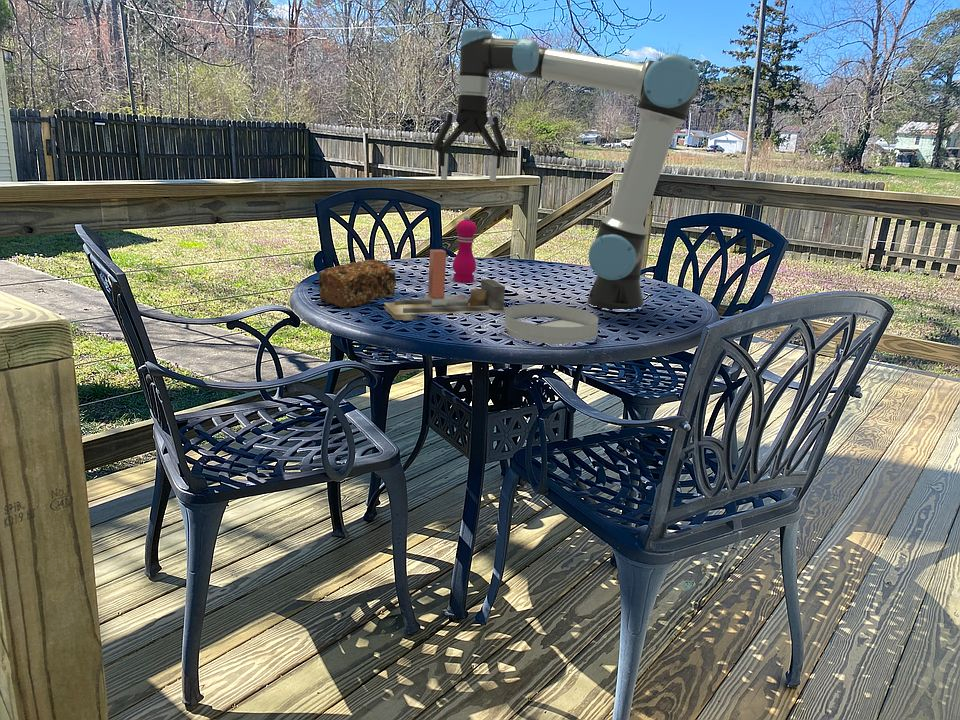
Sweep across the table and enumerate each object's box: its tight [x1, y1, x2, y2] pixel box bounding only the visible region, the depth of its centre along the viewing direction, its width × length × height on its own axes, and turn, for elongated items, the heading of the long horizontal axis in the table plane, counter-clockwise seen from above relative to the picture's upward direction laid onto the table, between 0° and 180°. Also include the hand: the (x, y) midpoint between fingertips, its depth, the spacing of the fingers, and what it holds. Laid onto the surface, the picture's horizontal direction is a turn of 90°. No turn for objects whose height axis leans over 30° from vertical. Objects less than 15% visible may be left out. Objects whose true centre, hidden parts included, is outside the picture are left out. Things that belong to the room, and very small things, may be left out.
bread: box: [318, 259, 397, 309], centre depth 193 cm, size 19×11×10 cm, turn 141°
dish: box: [503, 303, 599, 344], centre depth 172 cm, size 22×22×5 cm
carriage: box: [424, 249, 469, 307], centre depth 184 cm, size 10×6×14 cm, turn 110°
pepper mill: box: [452, 214, 477, 283], centre depth 223 cm, size 7×7×20 cm
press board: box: [382, 278, 508, 321], centre depth 186 cm, size 30×12×8 cm, turn 110°
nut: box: [469, 288, 486, 306], centre depth 188 cm, size 4×4×4 cm
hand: (468, 180), depth 194 cm, fingers open, 13 cm apart
